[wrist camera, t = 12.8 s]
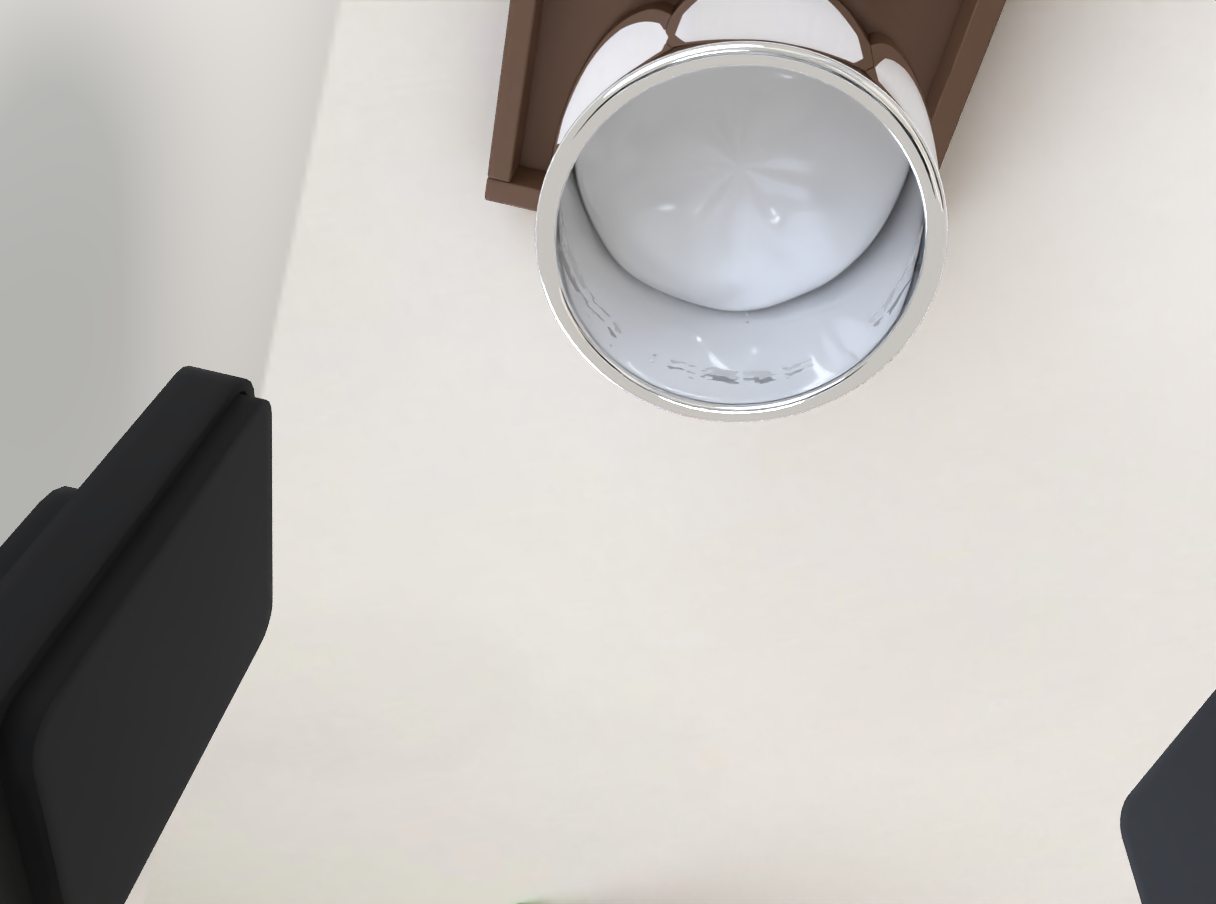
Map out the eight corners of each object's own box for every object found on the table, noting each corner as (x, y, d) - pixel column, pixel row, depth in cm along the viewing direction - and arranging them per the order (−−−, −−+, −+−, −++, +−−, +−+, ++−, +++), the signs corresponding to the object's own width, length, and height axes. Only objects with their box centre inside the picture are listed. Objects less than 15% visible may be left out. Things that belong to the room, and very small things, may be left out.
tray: (562, -305, 26) (549, -305, 24) (1058, -187, 26) (1077, -178, 24) (497, 175, 33) (483, 200, 32) (884, 264, 33) (890, 293, 32)
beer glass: (575, 65, 30) (454, 316, 18) (703, -182, 26) (656, -72, 14) (781, 186, 32) (794, 494, 20) (931, -32, 28) (1063, 183, 16)
